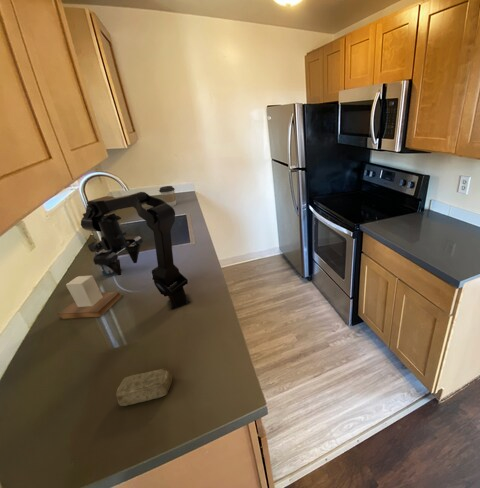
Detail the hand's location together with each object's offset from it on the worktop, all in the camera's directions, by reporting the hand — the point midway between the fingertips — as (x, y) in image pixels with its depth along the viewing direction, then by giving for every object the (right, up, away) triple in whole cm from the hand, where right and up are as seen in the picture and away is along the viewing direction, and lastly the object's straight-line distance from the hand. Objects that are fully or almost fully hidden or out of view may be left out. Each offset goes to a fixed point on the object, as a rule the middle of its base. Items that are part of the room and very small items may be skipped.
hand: (127, 268), depth 107 cm
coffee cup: (-51, +42, +122) cm, 139 cm away
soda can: (-23, -4, +23) cm, 33 cm away
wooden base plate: (-13, -15, -1) cm, 19 cm away
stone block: (+31, -29, -35) cm, 55 cm away
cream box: (-13, -12, -2) cm, 18 cm away
